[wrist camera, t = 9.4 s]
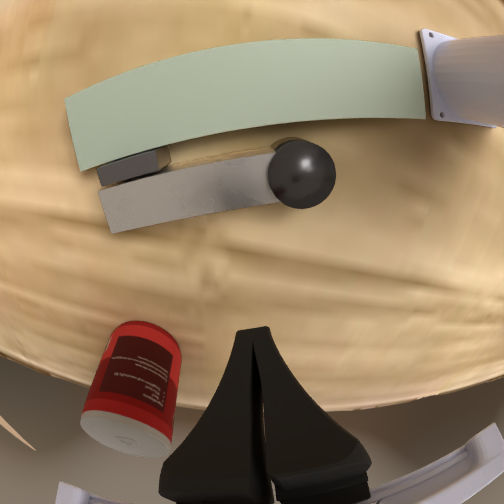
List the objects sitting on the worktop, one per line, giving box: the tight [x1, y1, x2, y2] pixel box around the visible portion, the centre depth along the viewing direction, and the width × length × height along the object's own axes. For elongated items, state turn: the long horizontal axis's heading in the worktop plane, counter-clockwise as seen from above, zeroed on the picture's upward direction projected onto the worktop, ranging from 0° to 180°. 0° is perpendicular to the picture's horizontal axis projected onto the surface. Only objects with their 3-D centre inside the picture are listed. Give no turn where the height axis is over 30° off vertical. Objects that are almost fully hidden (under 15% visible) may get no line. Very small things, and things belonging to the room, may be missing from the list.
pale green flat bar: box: [65, 38, 426, 172], centre depth 15 cm, size 24×5×2 cm, turn 99°
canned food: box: [80, 321, 181, 457], centre depth 21 cm, size 8×8×11 cm
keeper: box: [97, 144, 171, 187], centre depth 16 cm, size 4×1×3 cm, turn 99°
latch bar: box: [98, 137, 336, 234], centre depth 17 cm, size 14×4×3 cm, turn 99°
